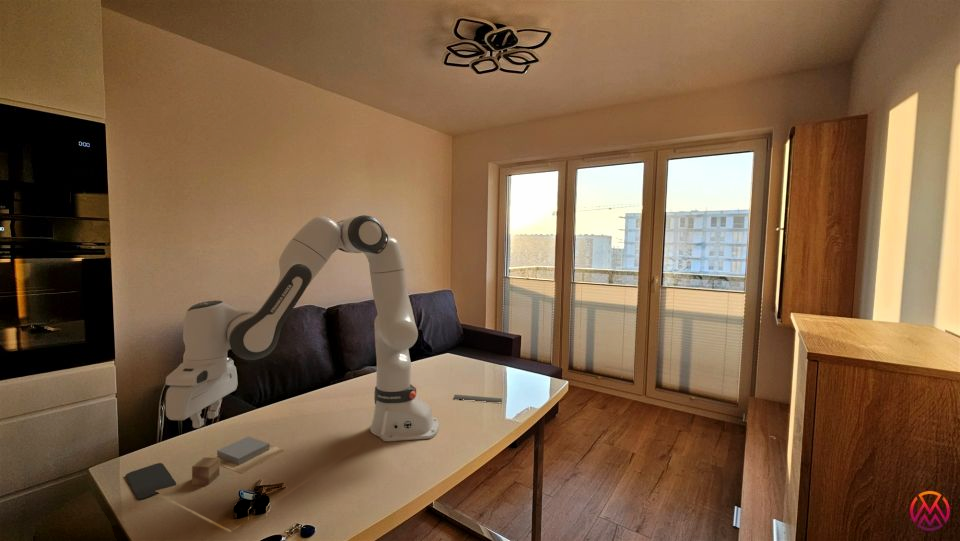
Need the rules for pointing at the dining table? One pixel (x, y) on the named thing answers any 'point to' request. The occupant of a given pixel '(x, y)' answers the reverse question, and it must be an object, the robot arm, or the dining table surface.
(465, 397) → the grey toothed bar
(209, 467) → the walnut block
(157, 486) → the phone
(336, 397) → the dining table surface
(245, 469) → the cork board
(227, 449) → the slate tile
